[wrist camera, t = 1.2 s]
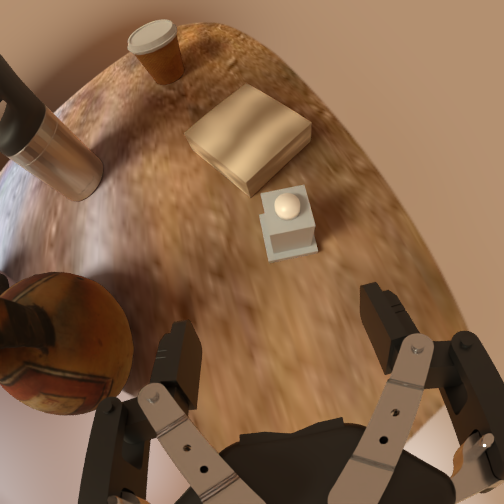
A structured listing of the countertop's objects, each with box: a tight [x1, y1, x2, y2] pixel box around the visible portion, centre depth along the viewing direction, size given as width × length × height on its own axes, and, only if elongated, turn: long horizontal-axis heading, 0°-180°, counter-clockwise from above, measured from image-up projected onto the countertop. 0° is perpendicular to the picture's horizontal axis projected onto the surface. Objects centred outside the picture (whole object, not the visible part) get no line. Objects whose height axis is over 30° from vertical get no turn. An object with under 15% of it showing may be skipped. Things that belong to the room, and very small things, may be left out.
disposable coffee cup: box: [128, 20, 184, 85], centre depth 45 cm, size 10×10×12 cm
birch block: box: [184, 83, 312, 198], centre depth 42 cm, size 13×13×5 cm
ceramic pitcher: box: [0, 272, 134, 415], centre depth 25 cm, size 20×20×30 cm
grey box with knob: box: [259, 185, 318, 263], centre depth 35 cm, size 6×6×10 cm
